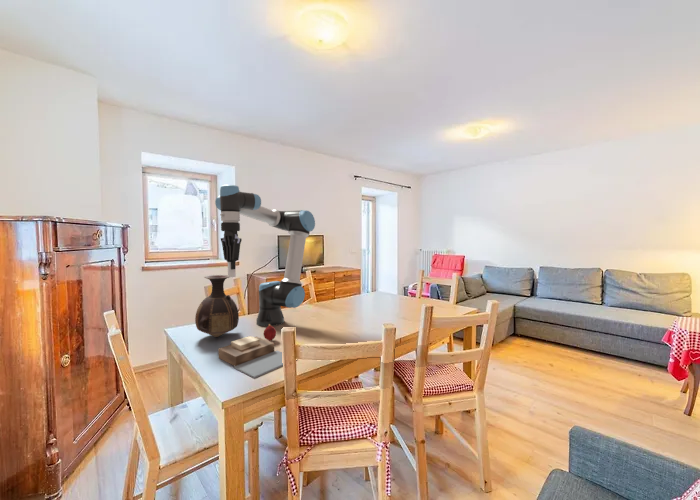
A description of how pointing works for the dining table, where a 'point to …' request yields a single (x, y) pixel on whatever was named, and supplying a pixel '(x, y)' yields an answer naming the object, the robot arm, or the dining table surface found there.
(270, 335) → the onion
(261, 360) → the mat
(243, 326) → the dining table surface
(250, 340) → the tile
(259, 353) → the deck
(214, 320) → the vase
